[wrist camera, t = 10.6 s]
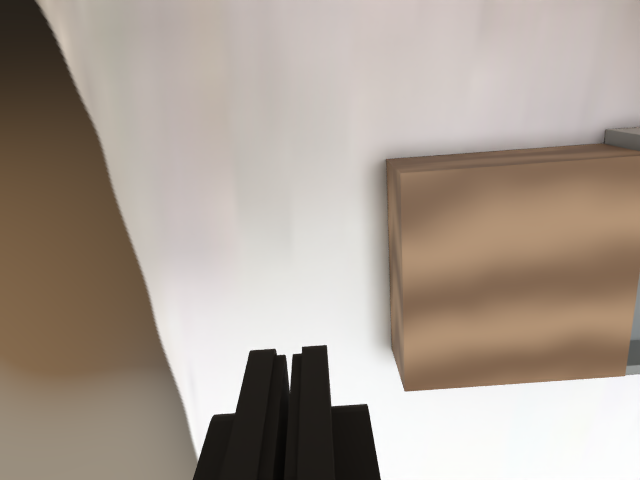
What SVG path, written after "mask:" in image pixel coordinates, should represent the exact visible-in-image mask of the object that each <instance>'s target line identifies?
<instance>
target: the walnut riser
mask: <svg viewBox="0 0 640 480" xmlns="http://www.w3.org/2000/svg"><path fill="white" fill-rule="evenodd" d="M386 165H387V200H388V235H389V270H390V305H391V340H392V351H393V354H394V358H395V361H396V364H397V368H398V371H399V374H400V378H401V381H402V384H403V387H404V391H419V390H434V389H448V388H462V387H476V386H491V385H505V384H519V383H533V382H548V381H562V380H576V379H590V378H605V377H619V376H625V373H626V366H627V359H628V352H629V345H630V338H631V331H632V324H633V317H634V310H635V303H636V296H637V288H638V281H639V274H640V151H636V150H631V149H626V148H622V147H617V146H612V145H607V144H602V143H601V144H588V145H574V146H560V147H547V148H533V149H519V150H506V151H492V152H478V153H465V154H451V155H437V156H423V157H410V158H396V159H386Z"/></svg>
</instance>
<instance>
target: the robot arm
mask: <svg viewBox="0 0 640 480" xmlns="http://www.w3.org/2000/svg"><path fill="white" fill-rule="evenodd" d="M193 480H381V478H380V472H379V467H378V461H377V455H376V450H375V444H374V438H373V432H372V427H371V421H370V415H369V410H368V405H367V404H360V405H346V406H332V407H331V395H330V382H329V368H328V355H327V345H322V346H308V347H302V354H293V357H292V372H291V386H290V390H289V380H288V371H287V361H286V356H285V355H277V353H276V349H265V350H251V351H250V353H249V357H248V361H247V365H246V369H245V374H244V378H243V382H242V387H241V391H240V395H239V400H238V404H237V408H236V412H235V413H232V414H218V415H214V416H213V417H212V419H211V421H210V424H209V428H208V431H207V434H206V438H205V441H204V444H203V448H202V451H201V454H200V458H199V461H198V464H197V468H196V471H195V474H194V477H193Z"/></svg>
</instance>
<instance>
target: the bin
mask: <svg viewBox="0 0 640 480" xmlns="http://www.w3.org/2000/svg"><path fill="white" fill-rule="evenodd" d="M604 144H607V145H612V146H617V147H622V148H626V149H631V150H636V151H640V127H634V128H620V129H606V132H605V141H604ZM634 374H640V274H639V281H638V288H637V296H636V303H635V310H634V317H633V324H632V331H631V338H630V345H629V352H628V359H627V366H626V373H625V375H634Z"/></svg>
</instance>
